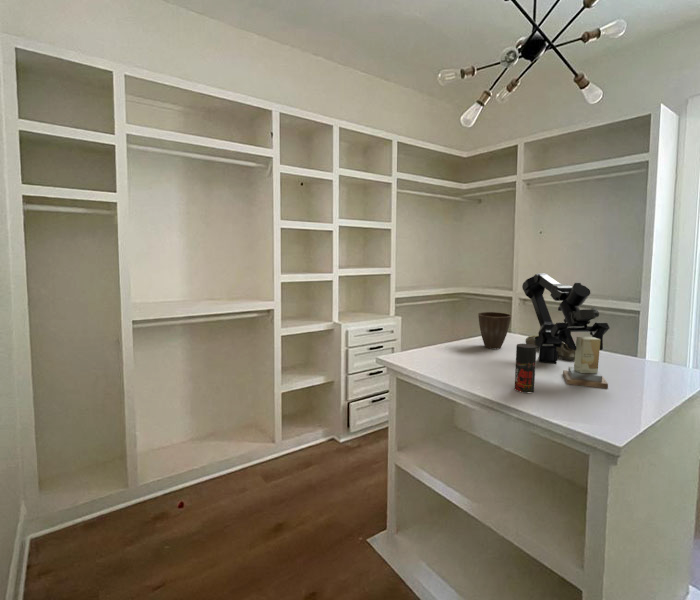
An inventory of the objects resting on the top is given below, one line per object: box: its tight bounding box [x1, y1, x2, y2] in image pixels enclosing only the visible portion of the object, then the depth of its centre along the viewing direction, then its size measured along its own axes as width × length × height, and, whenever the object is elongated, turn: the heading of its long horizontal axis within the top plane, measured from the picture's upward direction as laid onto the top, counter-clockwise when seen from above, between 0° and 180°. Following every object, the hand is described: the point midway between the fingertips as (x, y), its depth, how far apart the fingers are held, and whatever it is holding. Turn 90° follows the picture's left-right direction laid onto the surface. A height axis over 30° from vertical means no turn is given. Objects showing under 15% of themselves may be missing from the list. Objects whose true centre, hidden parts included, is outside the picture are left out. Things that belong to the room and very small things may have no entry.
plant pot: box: [477, 311, 512, 350], centre depth 190 cm, size 15×15×16 cm
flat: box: [525, 335, 575, 361], centre depth 182 cm, size 11×33×8 cm, turn 6°
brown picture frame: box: [562, 366, 609, 389], centre depth 140 cm, size 12×12×4 cm
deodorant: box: [514, 343, 537, 393], centre depth 130 cm, size 6×6×15 cm
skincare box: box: [573, 336, 601, 373], centre depth 138 cm, size 6×4×12 cm
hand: (588, 349), depth 137 cm, fingers open, 9 cm apart
